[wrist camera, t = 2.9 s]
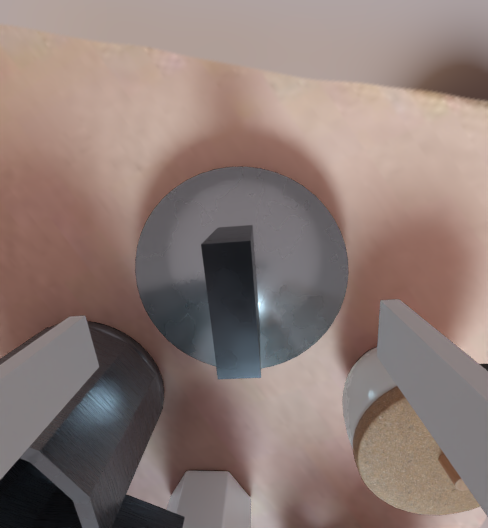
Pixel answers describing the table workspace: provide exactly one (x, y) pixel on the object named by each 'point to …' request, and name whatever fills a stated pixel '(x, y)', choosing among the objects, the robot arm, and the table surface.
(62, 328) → the robot arm
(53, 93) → the table surface
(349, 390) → the lidded jar
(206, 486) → the jar
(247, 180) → the lid
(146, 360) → the pot
